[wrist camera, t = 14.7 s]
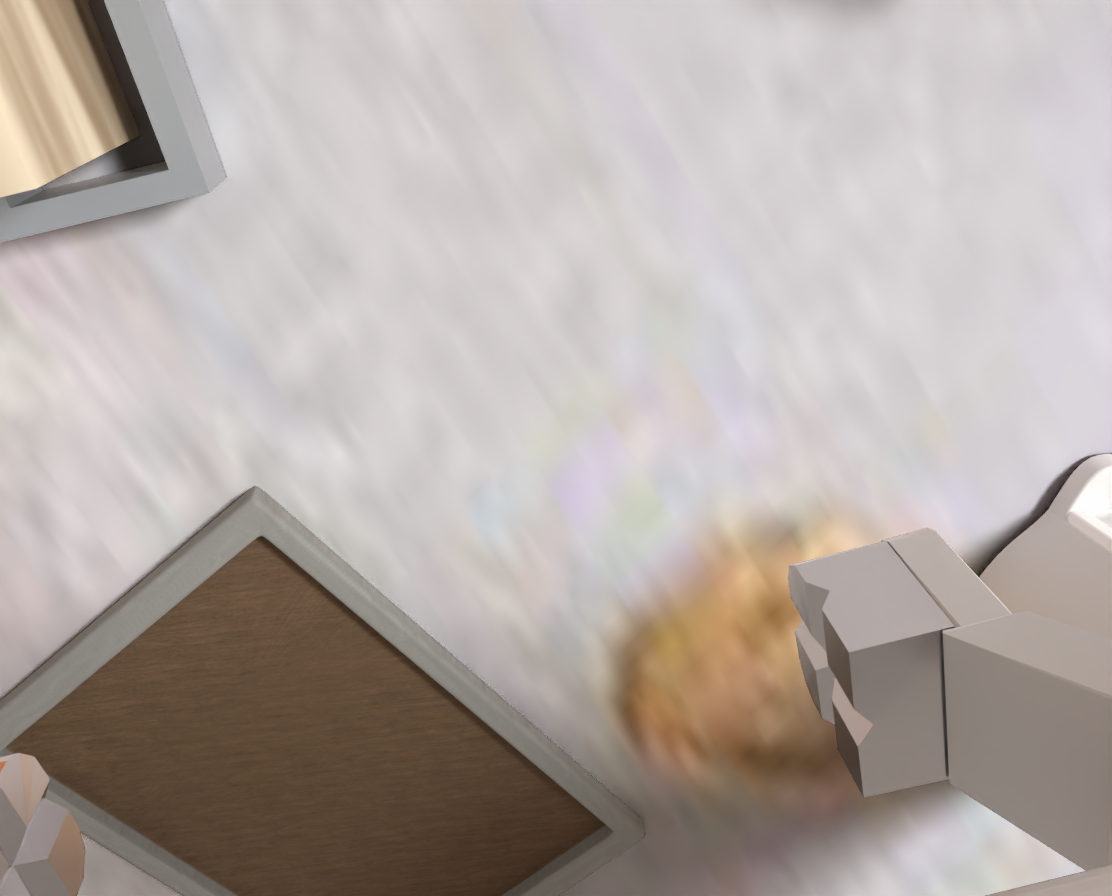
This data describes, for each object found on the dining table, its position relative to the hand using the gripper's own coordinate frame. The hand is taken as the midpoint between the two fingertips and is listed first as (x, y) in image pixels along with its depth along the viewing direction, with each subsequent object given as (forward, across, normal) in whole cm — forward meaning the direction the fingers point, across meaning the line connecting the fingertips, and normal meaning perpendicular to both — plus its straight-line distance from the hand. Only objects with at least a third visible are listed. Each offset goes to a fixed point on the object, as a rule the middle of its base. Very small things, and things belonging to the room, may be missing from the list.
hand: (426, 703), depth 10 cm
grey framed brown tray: (+30, +12, +28) cm, 43 cm away
